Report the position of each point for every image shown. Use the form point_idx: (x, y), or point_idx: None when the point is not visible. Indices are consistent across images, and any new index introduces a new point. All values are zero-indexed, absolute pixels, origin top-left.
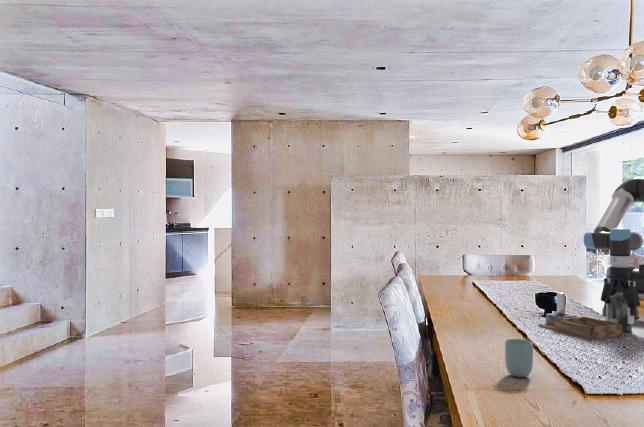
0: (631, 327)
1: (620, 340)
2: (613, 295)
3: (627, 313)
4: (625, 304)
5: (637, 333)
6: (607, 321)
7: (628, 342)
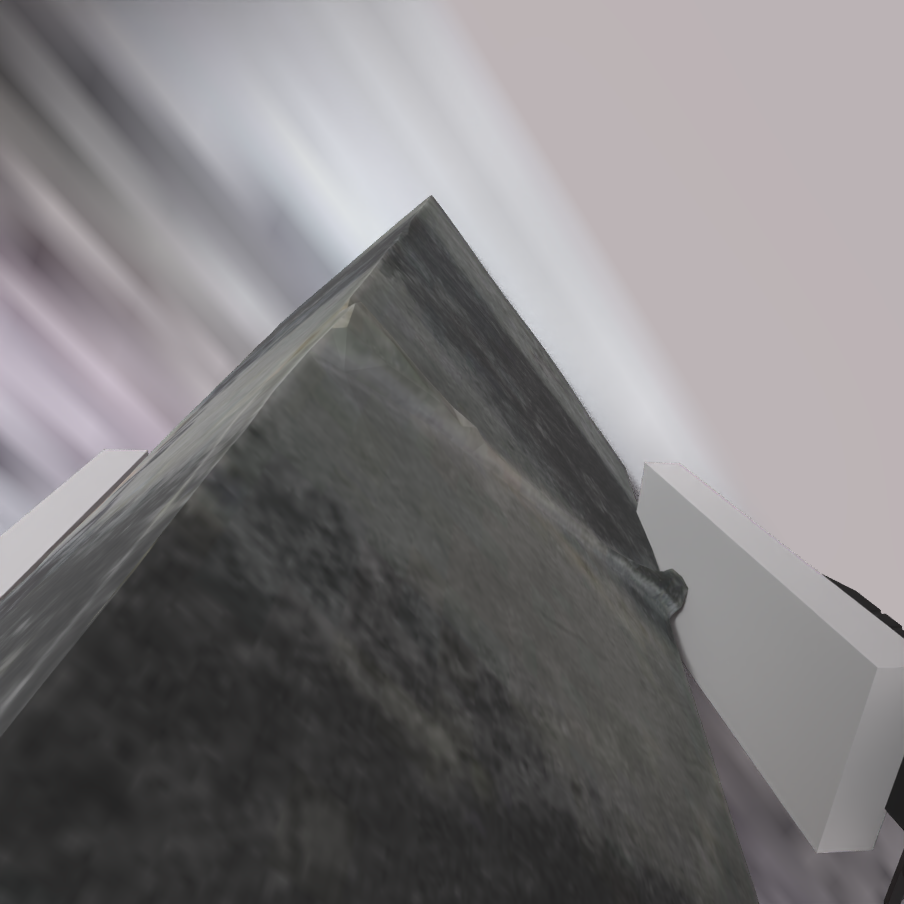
0: (621, 470)
1: (764, 874)
2: None
3: (679, 663)
4: (517, 599)
5: (671, 408)
6: None
7: (857, 872)
